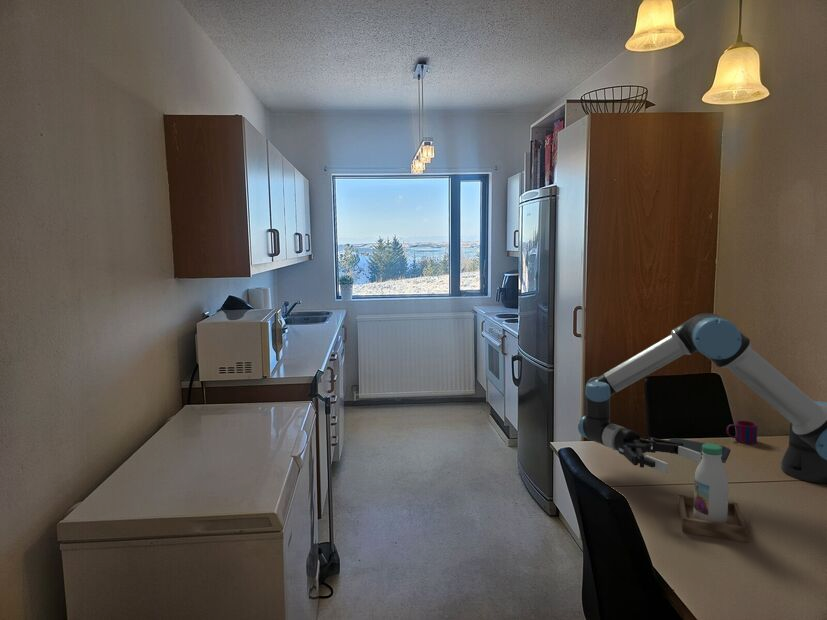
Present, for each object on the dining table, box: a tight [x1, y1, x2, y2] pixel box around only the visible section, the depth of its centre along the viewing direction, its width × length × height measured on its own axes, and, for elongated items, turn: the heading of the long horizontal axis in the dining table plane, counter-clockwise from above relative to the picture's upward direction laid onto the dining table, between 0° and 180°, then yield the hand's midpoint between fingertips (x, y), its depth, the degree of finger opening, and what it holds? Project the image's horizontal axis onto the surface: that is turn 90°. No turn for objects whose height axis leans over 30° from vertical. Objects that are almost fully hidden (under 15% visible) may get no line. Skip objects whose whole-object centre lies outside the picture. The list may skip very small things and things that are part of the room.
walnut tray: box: [678, 494, 748, 543], centre depth 135 cm, size 14×14×4 cm
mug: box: [726, 420, 758, 445], centre depth 190 cm, size 7×10×7 cm
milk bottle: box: [693, 442, 729, 524], centre depth 134 cm, size 8×8×20 cm
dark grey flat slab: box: [668, 437, 731, 464], centre depth 184 cm, size 20×2×15 cm
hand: (684, 463), depth 140 cm, fingers open, 13 cm apart
